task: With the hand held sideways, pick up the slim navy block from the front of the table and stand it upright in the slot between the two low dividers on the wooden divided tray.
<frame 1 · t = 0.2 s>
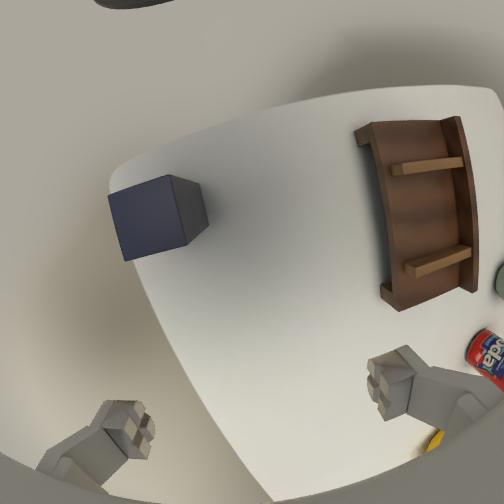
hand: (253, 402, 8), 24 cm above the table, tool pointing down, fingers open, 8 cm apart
navy block: (183, 209, 30), on the table
cup: (500, 277, 35), on the table
wooden divided tray: (408, 209, 31), on the table
soda can: (476, 345, 37), on the table
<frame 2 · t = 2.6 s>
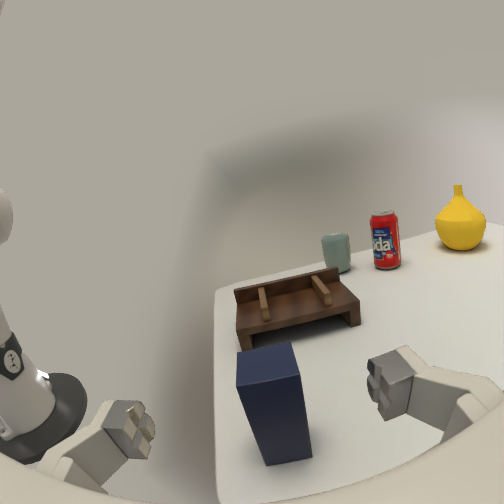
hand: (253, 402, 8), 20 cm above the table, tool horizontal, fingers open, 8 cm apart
navy block: (286, 445, 24), on the table
vase: (461, 246, 66), on the table
cup: (339, 271, 75), on the table
wooden divided tray: (297, 324, 51), on the table
soda can: (388, 266, 68), on the table
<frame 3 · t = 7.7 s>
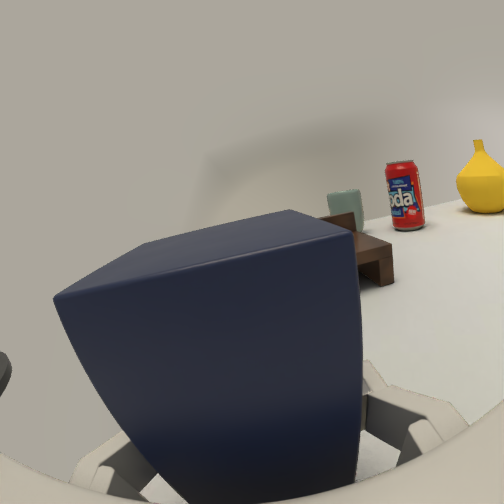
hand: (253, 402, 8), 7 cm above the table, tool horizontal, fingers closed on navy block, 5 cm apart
navy block: (286, 499, 9), on the table, touching gripper
vase: (487, 210, 51), on the table
cup: (350, 236, 59), on the table
wooden divided tray: (301, 288, 36), on the table
soda can: (409, 228, 53), on the table
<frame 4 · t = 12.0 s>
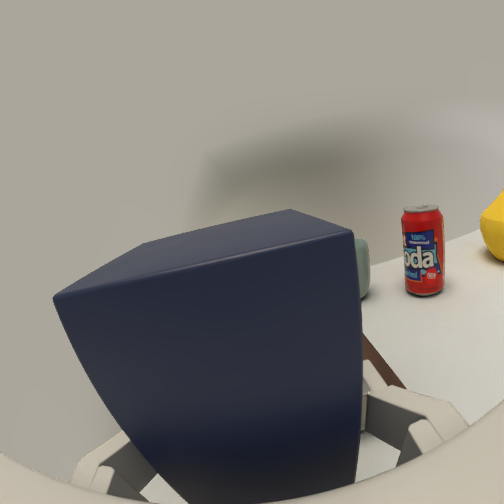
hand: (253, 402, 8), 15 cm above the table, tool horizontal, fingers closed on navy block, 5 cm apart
navy block: (286, 499, 9), point 8 cm above the table, touching gripper
cup: (351, 297, 48), on the table
wooden divided tray: (278, 415, 24), on the table
soda can: (424, 290, 42), on the table
when the fingers open (12 cm above the table, at t = 16.8 s): navy block stays where it is, resting on wooden divided tray.
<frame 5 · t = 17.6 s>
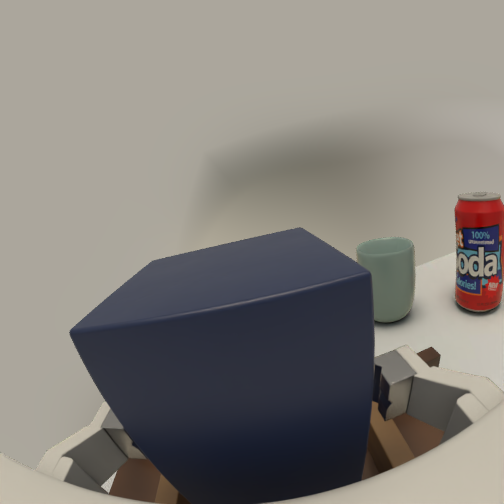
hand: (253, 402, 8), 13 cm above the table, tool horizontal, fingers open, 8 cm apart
navy block: (291, 503, 9), point 5 cm above the table, touching wooden divided tray
cup: (388, 316, 33), on the table
soda can: (477, 303, 27), on the table
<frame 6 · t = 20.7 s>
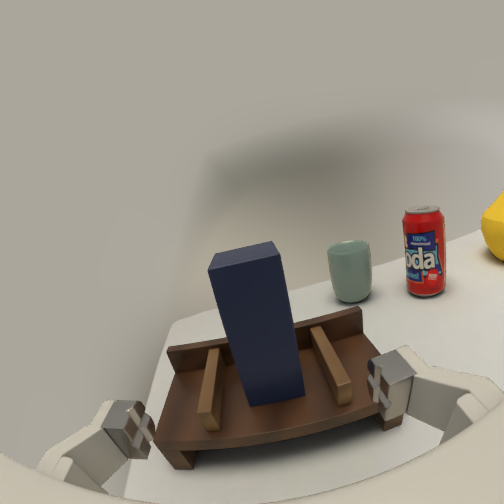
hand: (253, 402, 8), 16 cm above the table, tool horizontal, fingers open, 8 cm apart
navy block: (275, 385, 23), point 5 cm above the table, touching wooden divided tray
cup: (353, 298, 48), on the table
wooden divided tray: (281, 417, 24), on the table
soda can: (426, 291, 42), on the table
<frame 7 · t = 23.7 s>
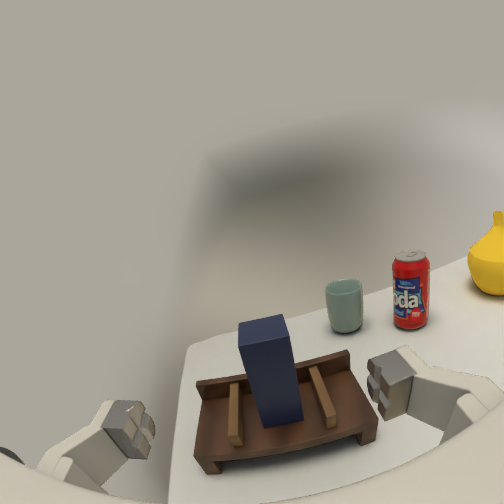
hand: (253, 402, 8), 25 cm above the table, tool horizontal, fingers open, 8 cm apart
navy block: (281, 411, 30), point 5 cm above the table, touching wooden divided tray
vase: (495, 288, 46), on the table
cup: (347, 328, 54), on the table
wooden divided tray: (285, 432, 31), on the table
soda can: (410, 323, 48), on the table
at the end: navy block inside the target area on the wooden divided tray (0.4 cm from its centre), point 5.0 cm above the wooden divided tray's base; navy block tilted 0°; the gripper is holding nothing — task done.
